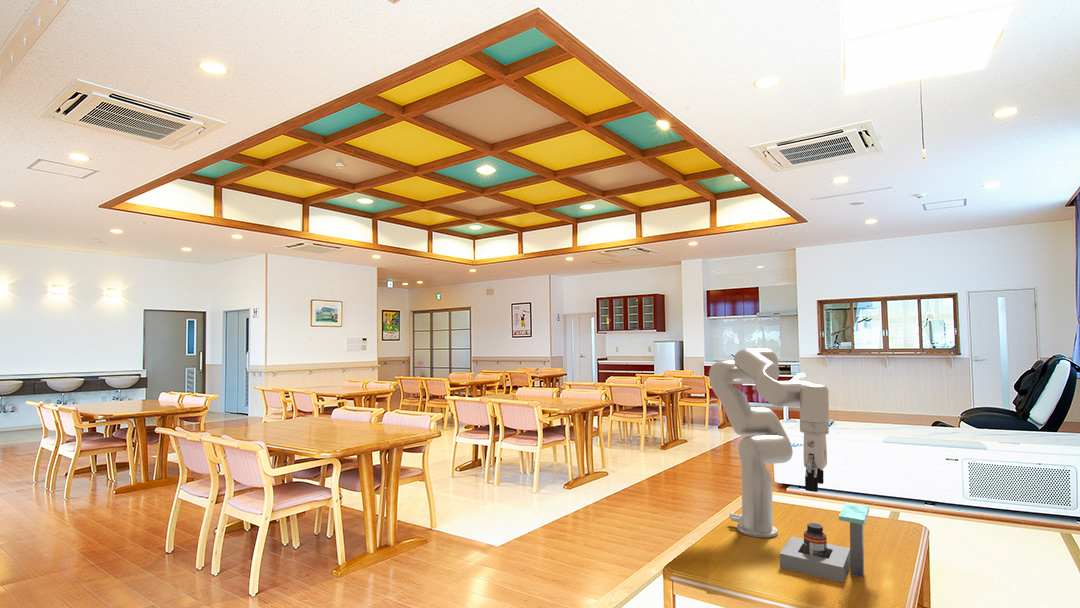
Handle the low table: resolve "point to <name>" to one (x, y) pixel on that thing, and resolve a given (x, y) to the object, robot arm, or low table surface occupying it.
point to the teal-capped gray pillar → (855, 535)
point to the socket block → (815, 560)
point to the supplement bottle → (815, 540)
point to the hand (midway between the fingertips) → (814, 486)
